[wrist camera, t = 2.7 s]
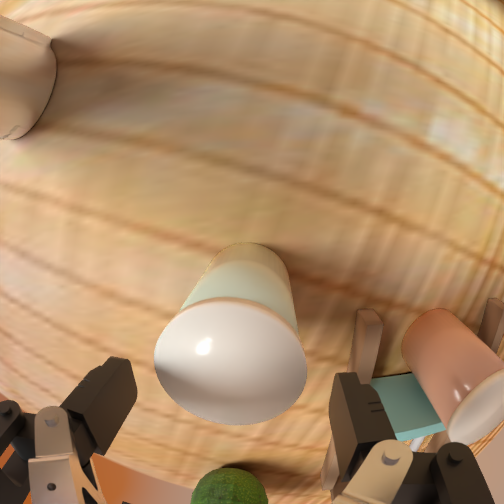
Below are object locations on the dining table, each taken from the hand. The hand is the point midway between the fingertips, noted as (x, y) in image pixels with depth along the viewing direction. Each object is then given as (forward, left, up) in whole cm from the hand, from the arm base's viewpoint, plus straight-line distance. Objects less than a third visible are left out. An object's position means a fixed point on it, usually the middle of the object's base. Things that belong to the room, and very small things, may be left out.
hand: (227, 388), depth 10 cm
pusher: (+12, +15, -10) cm, 22 cm away
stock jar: (+5, +15, -10) cm, 19 cm away
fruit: (+22, -2, -10) cm, 25 cm away
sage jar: (-1, 0, -10) cm, 10 cm away
